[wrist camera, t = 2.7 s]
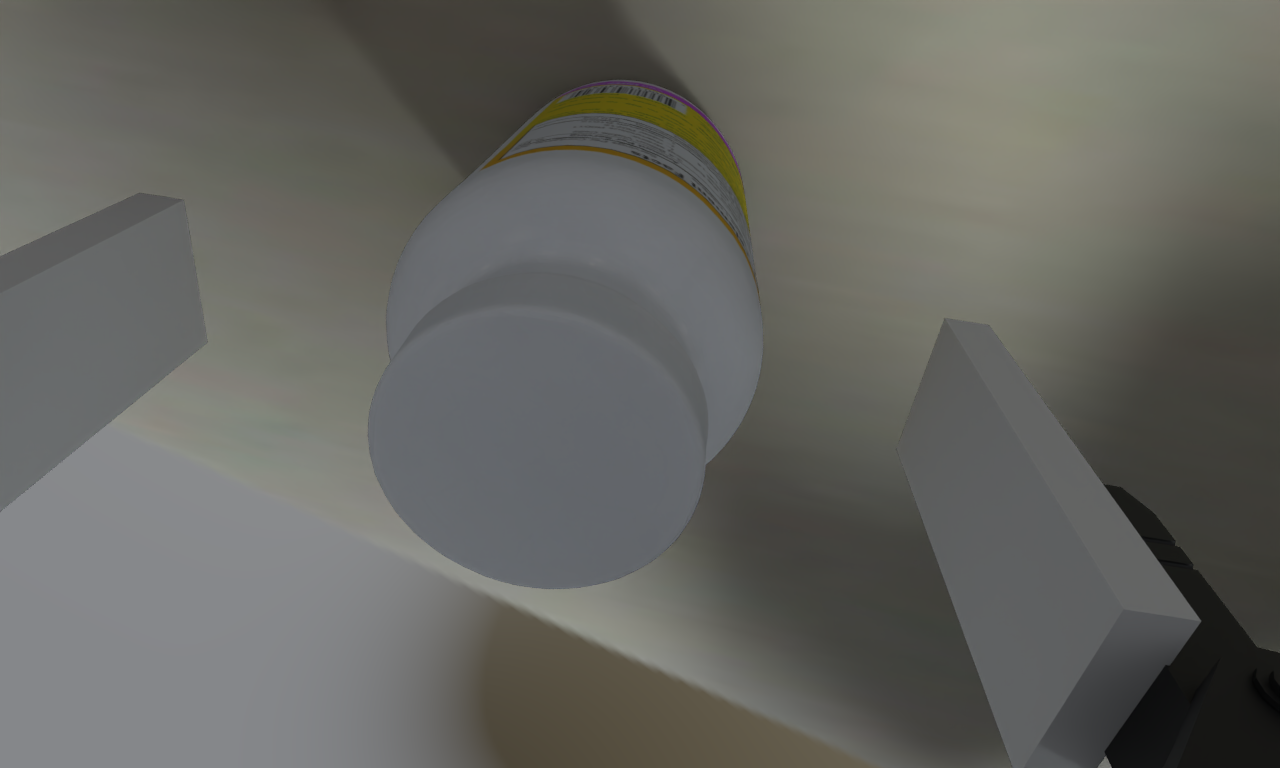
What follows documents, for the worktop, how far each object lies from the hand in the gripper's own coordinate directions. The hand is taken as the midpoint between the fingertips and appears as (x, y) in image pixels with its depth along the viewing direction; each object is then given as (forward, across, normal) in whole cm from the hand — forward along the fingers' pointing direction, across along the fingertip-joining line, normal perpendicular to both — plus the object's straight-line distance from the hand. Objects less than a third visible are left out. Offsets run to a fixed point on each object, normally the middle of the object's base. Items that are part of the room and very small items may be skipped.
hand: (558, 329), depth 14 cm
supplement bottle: (+9, 0, 0) cm, 9 cm away
